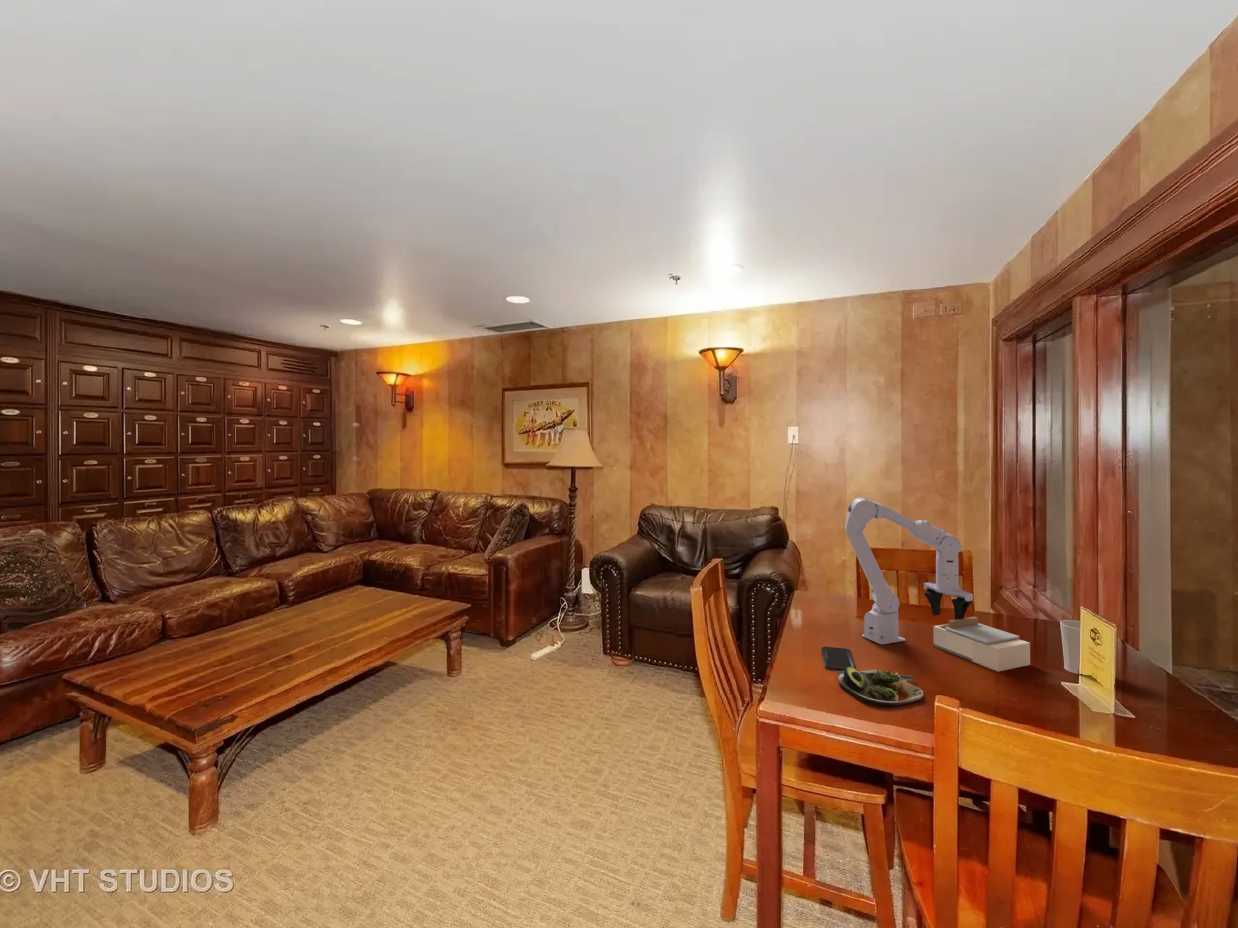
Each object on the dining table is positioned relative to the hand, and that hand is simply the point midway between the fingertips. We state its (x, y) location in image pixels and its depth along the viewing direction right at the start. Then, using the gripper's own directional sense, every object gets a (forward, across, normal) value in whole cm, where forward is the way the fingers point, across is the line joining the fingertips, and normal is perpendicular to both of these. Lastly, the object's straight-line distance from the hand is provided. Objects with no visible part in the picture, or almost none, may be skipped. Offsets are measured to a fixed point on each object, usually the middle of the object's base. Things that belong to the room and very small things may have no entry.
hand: (947, 618), depth 156 cm
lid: (+1, -10, 0) cm, 10 cm away
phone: (+8, +2, +39) cm, 40 cm away
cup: (+8, -26, -14) cm, 31 cm away
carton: (+7, -10, 0) cm, 12 cm away
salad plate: (+8, -16, +43) cm, 47 cm away
